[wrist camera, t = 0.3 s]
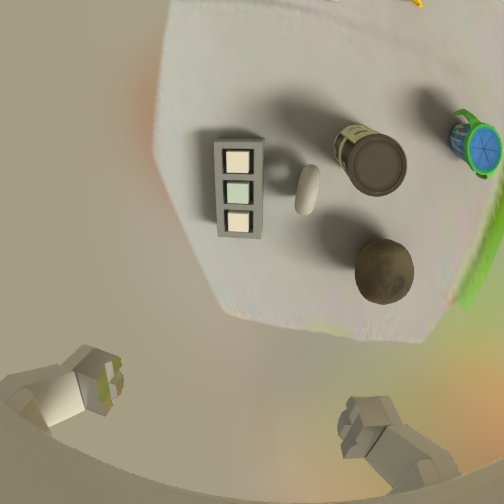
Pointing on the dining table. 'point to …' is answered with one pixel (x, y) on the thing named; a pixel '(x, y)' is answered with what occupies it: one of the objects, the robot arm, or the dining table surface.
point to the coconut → (384, 271)
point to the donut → (307, 189)
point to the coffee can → (370, 160)
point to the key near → (237, 161)
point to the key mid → (238, 192)
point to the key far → (238, 220)
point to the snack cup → (477, 145)
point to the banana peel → (417, 3)
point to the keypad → (253, 176)
